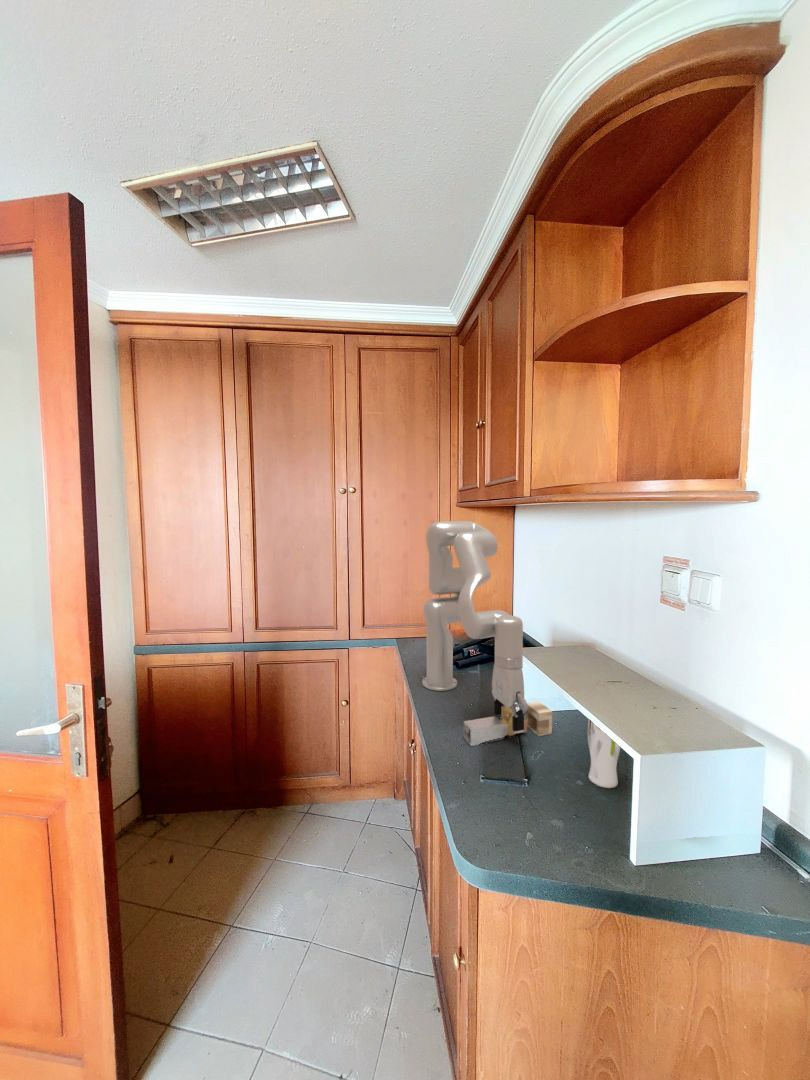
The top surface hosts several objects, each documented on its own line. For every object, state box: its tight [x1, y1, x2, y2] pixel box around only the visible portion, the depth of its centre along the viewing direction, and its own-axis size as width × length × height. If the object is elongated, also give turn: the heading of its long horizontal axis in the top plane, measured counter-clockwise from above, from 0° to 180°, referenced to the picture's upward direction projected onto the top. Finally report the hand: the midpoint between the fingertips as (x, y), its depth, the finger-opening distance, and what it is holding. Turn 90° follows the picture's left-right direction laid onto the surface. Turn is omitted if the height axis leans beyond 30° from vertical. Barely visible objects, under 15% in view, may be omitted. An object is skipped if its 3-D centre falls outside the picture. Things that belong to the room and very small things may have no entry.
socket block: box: [525, 700, 553, 737], centre depth 118 cm, size 6×4×6 cm
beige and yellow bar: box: [470, 706, 528, 736], centre depth 114 cm, size 4×16×7 cm, turn 107°
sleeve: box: [463, 715, 506, 747], centre depth 113 cm, size 5×10×5 cm, turn 107°
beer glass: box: [587, 718, 621, 789], centre depth 95 cm, size 7×7×15 cm
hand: (508, 721), depth 115 cm, fingers open, 9 cm apart
